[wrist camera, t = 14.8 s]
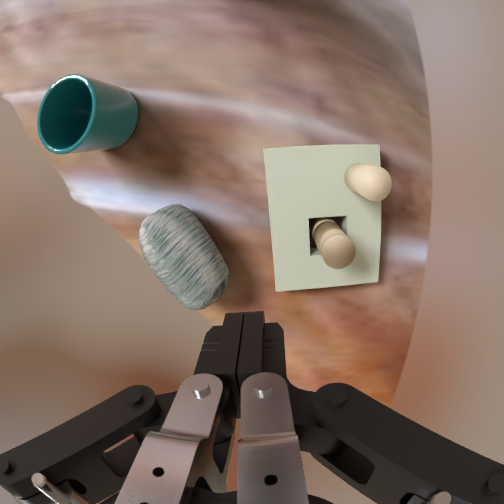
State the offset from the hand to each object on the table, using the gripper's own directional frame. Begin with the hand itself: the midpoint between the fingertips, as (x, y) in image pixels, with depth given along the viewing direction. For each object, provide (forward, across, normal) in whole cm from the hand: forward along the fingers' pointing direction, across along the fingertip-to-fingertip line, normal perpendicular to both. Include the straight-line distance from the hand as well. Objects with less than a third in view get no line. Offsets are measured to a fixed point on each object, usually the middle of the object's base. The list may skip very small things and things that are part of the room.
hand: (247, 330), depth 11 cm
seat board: (+27, -8, +2) cm, 28 cm away
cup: (+27, +20, -16) cm, 37 cm away
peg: (+27, -8, +4) cm, 28 cm away
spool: (+27, +10, +5) cm, 30 cm away
